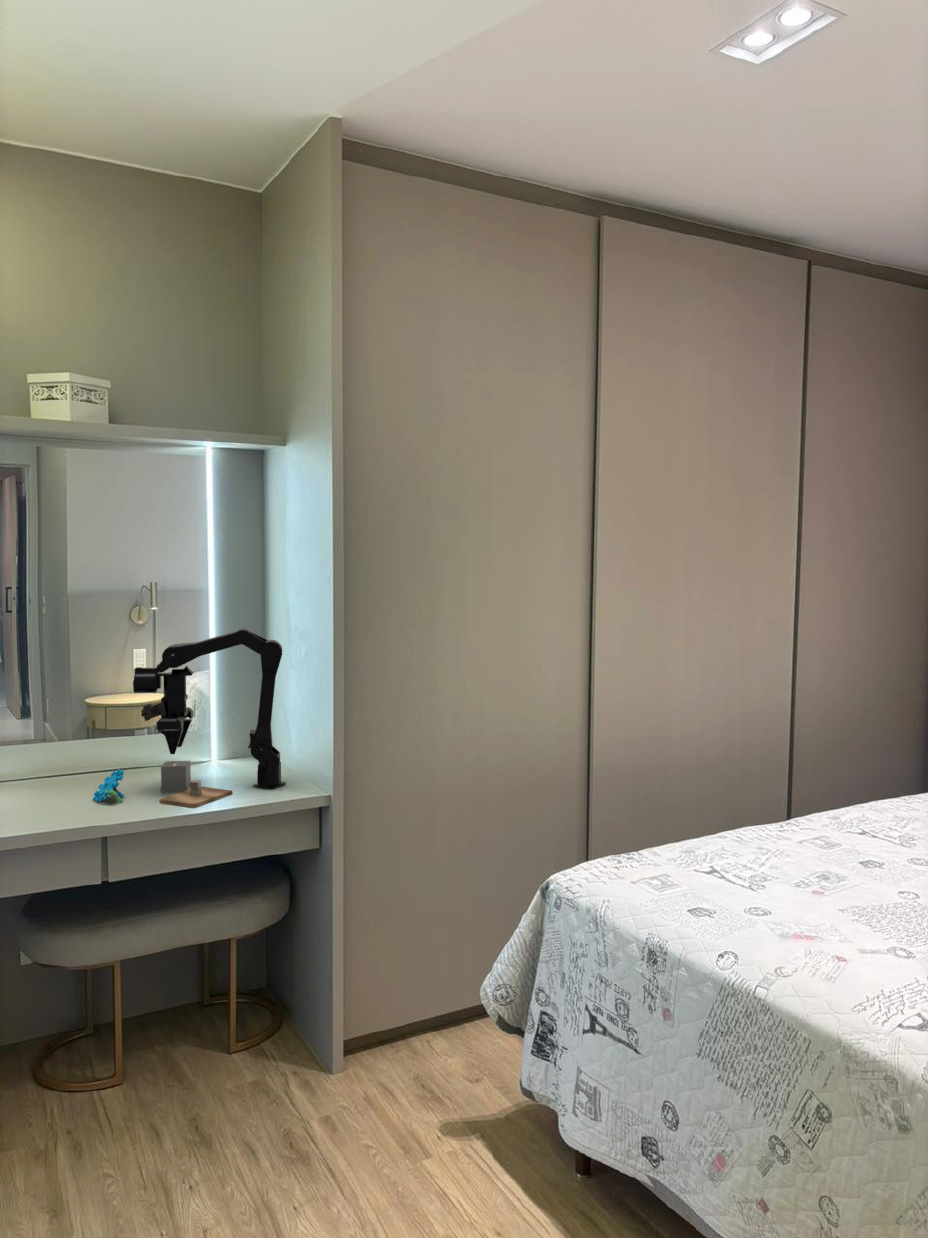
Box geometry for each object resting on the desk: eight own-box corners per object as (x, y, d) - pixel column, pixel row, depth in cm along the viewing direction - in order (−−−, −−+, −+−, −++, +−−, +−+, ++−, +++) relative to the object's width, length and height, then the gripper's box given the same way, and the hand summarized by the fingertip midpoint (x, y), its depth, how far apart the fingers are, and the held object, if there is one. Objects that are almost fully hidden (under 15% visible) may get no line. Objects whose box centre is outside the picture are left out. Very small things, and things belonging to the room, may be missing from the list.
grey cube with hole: (166, 786, 259) (166, 760, 259) (190, 786, 260) (190, 760, 260) (161, 792, 253) (161, 766, 253) (186, 792, 254) (185, 765, 253)
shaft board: (198, 789, 257) (198, 773, 256) (232, 794, 252) (232, 777, 252) (159, 803, 243) (159, 785, 243) (194, 808, 238) (194, 790, 238)
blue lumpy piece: (89, 790, 249) (118, 762, 250) (107, 804, 251) (135, 776, 253) (92, 806, 239) (122, 777, 240) (110, 820, 241) (139, 791, 243)
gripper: (151, 687, 263) (152, 743, 264) (135, 698, 244) (136, 758, 246) (193, 687, 264) (194, 743, 265) (180, 697, 246) (181, 758, 247)
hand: (176, 750), depth 256 cm, fingers open, 9 cm apart
